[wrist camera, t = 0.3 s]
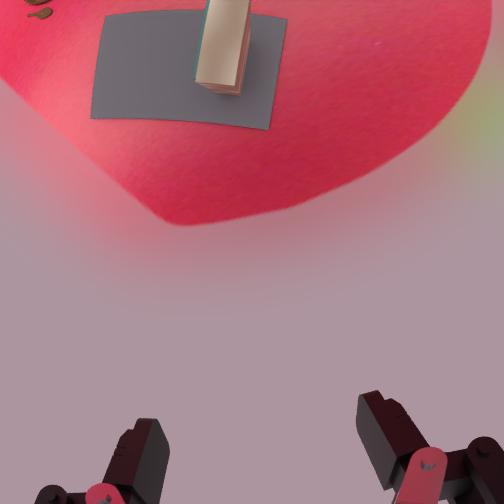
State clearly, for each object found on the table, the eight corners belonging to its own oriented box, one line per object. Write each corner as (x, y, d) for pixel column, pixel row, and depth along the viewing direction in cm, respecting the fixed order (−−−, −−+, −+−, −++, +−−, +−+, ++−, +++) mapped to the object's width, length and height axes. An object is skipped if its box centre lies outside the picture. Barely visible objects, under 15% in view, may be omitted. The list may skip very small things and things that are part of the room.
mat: (93, 118, 30) (90, 118, 30) (108, 17, 24) (105, 15, 23) (268, 130, 32) (268, 130, 31) (286, 21, 26) (287, 19, 25)
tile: (214, 93, 29) (190, 81, 17) (224, 36, 26) (207, -8, 14) (240, 96, 29) (234, 85, 17) (250, 39, 26) (250, -5, 14)
